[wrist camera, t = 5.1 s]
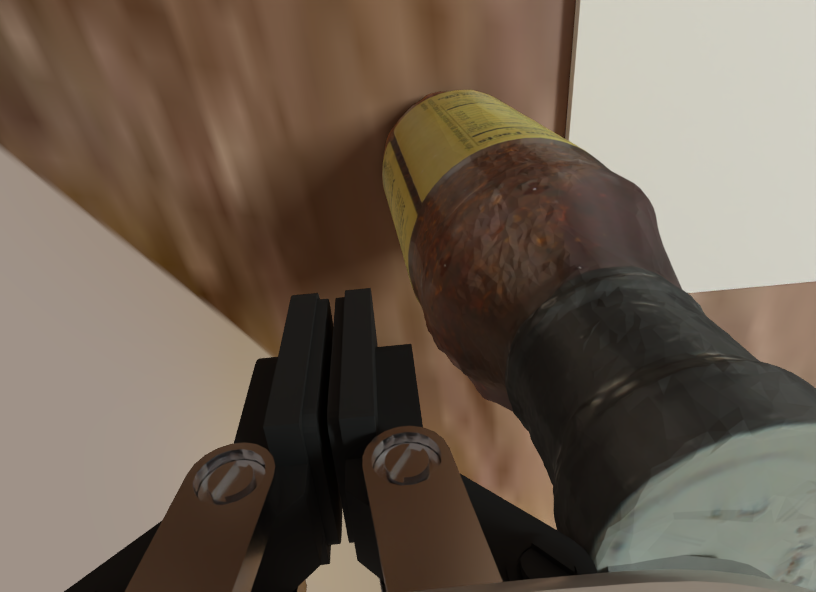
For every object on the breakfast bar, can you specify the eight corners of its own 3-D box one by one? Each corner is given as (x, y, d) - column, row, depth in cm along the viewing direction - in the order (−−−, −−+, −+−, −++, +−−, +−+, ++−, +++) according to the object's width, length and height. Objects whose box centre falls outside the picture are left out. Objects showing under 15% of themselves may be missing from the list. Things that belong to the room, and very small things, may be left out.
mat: (929, 265, 29) (937, 270, 29) (552, 300, 28) (555, 305, 28) (1102, -110, 21) (1117, -112, 21) (581, -74, 20) (586, -75, 20)
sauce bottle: (471, 245, 27) (710, 734, 9) (353, 186, 24) (384, 674, 7) (552, 121, 24) (1084, 480, 7) (429, 44, 22) (744, 283, 5)
